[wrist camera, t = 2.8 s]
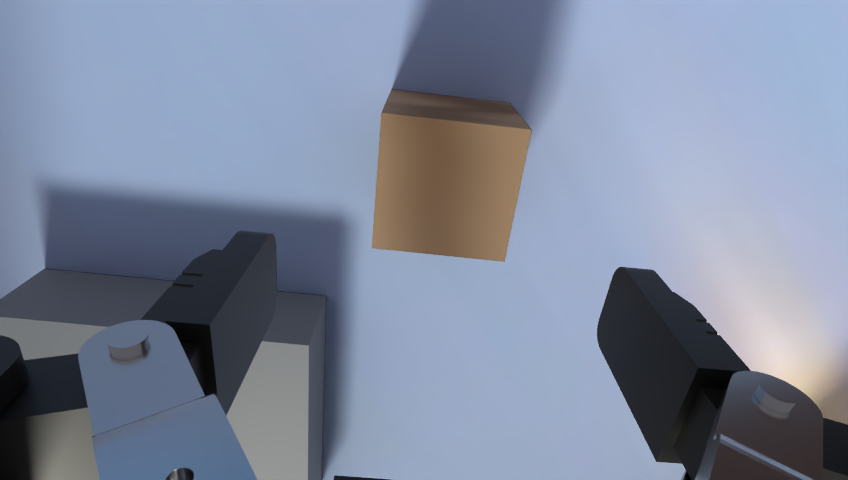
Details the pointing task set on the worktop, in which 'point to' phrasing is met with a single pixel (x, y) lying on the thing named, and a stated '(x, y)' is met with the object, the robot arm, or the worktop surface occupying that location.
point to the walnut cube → (448, 175)
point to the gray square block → (260, 390)
